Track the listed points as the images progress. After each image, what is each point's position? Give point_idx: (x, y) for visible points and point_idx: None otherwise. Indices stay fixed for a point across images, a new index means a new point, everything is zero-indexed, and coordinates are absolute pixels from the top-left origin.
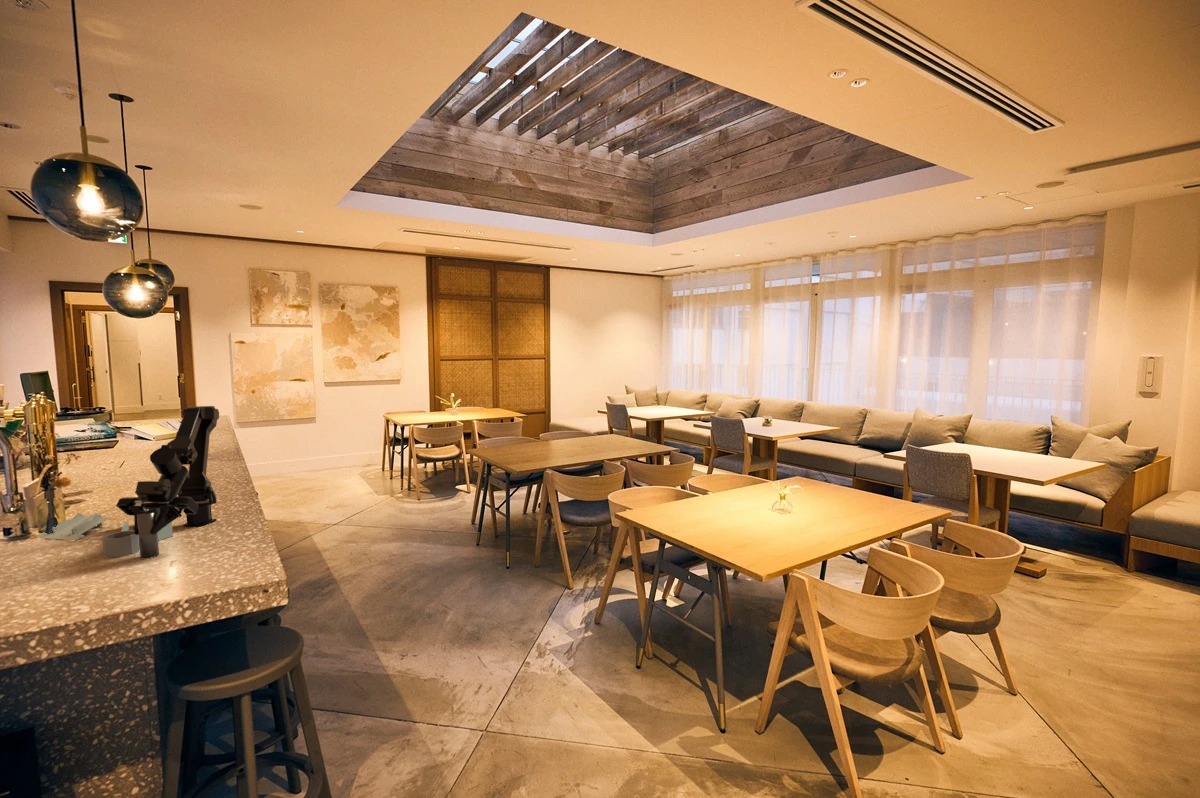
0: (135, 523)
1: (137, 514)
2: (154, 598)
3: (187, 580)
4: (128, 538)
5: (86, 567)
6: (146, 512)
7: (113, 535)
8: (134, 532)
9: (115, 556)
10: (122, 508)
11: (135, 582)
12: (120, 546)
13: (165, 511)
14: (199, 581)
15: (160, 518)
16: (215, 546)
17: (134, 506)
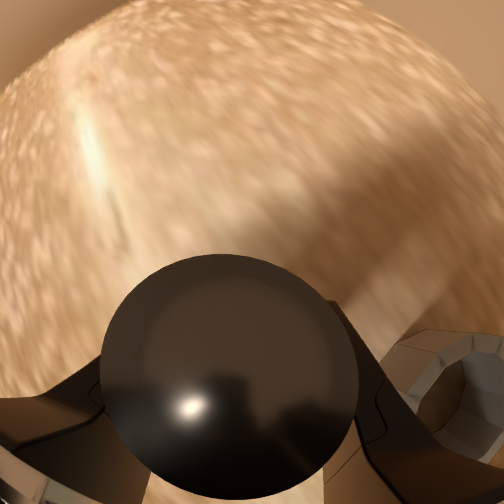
0: (366, 360)
1: (320, 307)
2: (93, 37)
3: (52, 105)
4: (409, 382)
5: (443, 218)
6: (235, 421)
7: (499, 423)
8: (331, 302)
9: (419, 333)
10: None
11: (161, 78)
12: (420, 346)
13: (26, 400)
14: (34, 105)
15: (98, 366)
16: None
17: (491, 496)
